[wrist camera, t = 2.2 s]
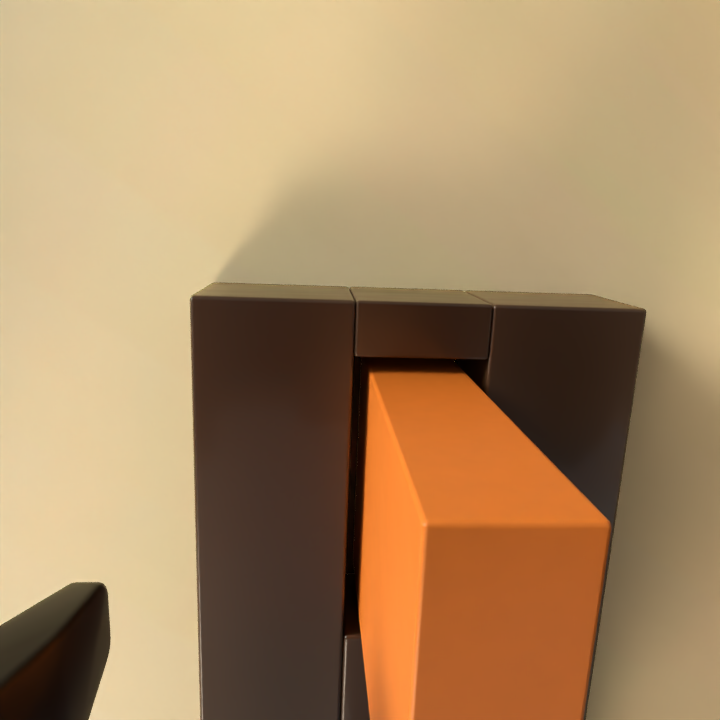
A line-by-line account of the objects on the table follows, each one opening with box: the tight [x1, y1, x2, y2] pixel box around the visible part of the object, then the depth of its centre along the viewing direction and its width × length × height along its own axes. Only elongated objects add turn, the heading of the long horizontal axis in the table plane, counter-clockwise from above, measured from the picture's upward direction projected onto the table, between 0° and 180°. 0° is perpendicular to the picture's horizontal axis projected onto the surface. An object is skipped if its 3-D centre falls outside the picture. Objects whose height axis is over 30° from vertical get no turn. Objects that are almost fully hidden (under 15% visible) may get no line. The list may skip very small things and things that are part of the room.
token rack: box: [190, 283, 646, 720], centre depth 13 cm, size 8×16×2 cm, turn 178°
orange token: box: [353, 357, 611, 720], centre depth 10 cm, size 2×5×8 cm, turn 178°
